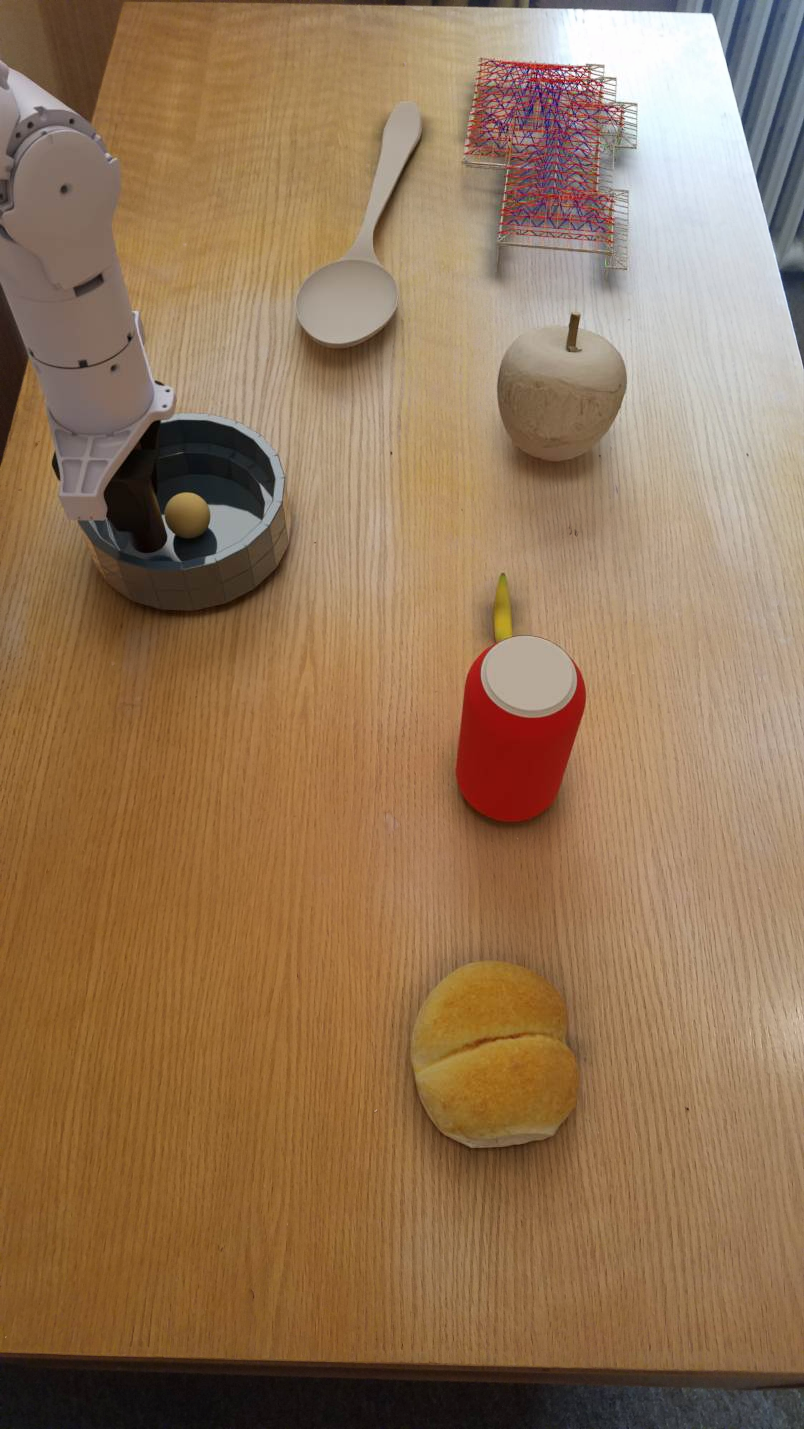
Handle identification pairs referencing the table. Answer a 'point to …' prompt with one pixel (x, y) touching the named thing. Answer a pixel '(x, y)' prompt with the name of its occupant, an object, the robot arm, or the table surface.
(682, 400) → the table surface
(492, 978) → the bread roll
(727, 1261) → the table surface
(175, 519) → the ball
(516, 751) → the beverage can
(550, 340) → the decorative object
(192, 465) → the bowl
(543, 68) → the roof frame
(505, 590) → the fruit
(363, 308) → the spoon
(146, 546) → the brown wooden dowel
